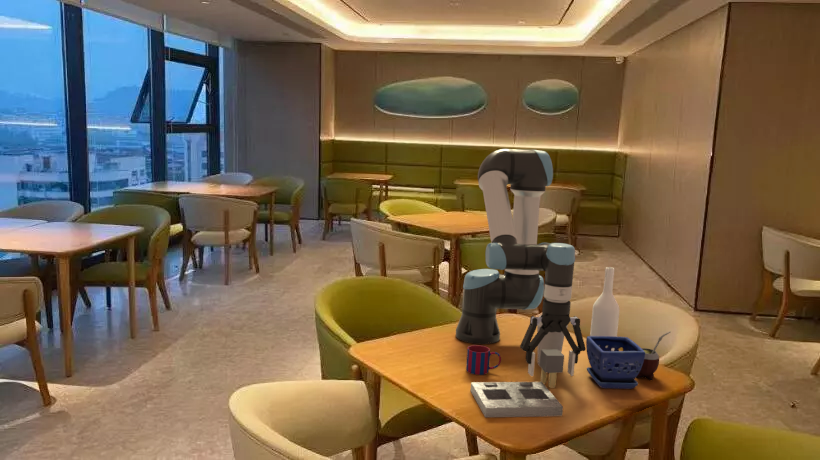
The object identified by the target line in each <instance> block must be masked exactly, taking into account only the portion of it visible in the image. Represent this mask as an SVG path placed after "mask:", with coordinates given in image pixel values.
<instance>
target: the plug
mask: <svg viewBox="0 0 820 460" xmlns="http://www.w3.org/2000/svg"><path fill="white" fill-rule="evenodd" d="M564 360H565V354H564V353H563V352H560V351H559V350H558V349H541V355H540V366H539V367H540V368H541V369H540V370H541V372H540V381H539V382H542V383H543V384H544V385H545V384H547V374H549V375H548V387H549V389H550V388H551V389H553V388H554V389H555V388H556V384H557V374H558V373H559V374H561V373H562V374H563V373H564V362H565V361H564Z"/></svg>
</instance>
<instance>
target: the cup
mask: <svg viewBox="0 0 820 460" xmlns="http://www.w3.org/2000/svg"><path fill="white" fill-rule="evenodd" d="M492 355H497V356H498V363H497V364H496V365H493V366H490V361H491V360H490V358H491V356H492ZM501 362H502V357H501V354H500V353H499V352H497V351H491V348H490V347H487V346H485V345H482V344H472V345H469V346H467V351H466V363H465V364H466V367H465V369H466V372H467V373H469V374H471V375H476V376H483V375H487V374H488V373H489V371H490V370H494V369H496V368H498V367H499V366H500V365H501Z"/></svg>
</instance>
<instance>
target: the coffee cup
mask: <svg viewBox="0 0 820 460" xmlns="http://www.w3.org/2000/svg"><path fill="white" fill-rule="evenodd" d="M541 315H542V314H540V315H539V316H538V317H541ZM542 325H543V324H542V322H539V325H537V327H536V330H537V332H536V334H537V333H538V331H539V329H540V327H541V326H542ZM568 326H569V324H568V325H567V326H566V327H567V328H568ZM564 340H565V336H564V334H563V332H562V331H561V332H549V333H548V334H547V335H545V336H544V338H543V339H542V340H541V342H540V343H539V344H538V346H537V347H536V349H537V365H538V366H539V367H540V355H541V349H558V350H559V351H560V352H561V353H563V352H562V351H563V346H564Z"/></svg>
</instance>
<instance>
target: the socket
mask: <svg viewBox="0 0 820 460" xmlns="http://www.w3.org/2000/svg"><path fill="white" fill-rule="evenodd" d="M470 394H471V395H472V397H473V398H474V400H475V401H476V403H477V405H478V407H479V409H480V411H481V412H482V415H483V416H484V418H522V417H523V418H525V417H527V418H528V417H531V418H533V417H534V418H535V417H563V412H564V411H563V410H564V406H563V405H562V404H561V402H560V401H559V399H557V398H556V397H555V395H553V393H552V392H551V391H550V390H549V389H548V387H547V386H546V385H545V384H543V383H542V382H540V381H488V382H487V381H486V382H485V381H483V382H482V381H480V382H478V381H476V382H475V381H473V382H470Z"/></svg>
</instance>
